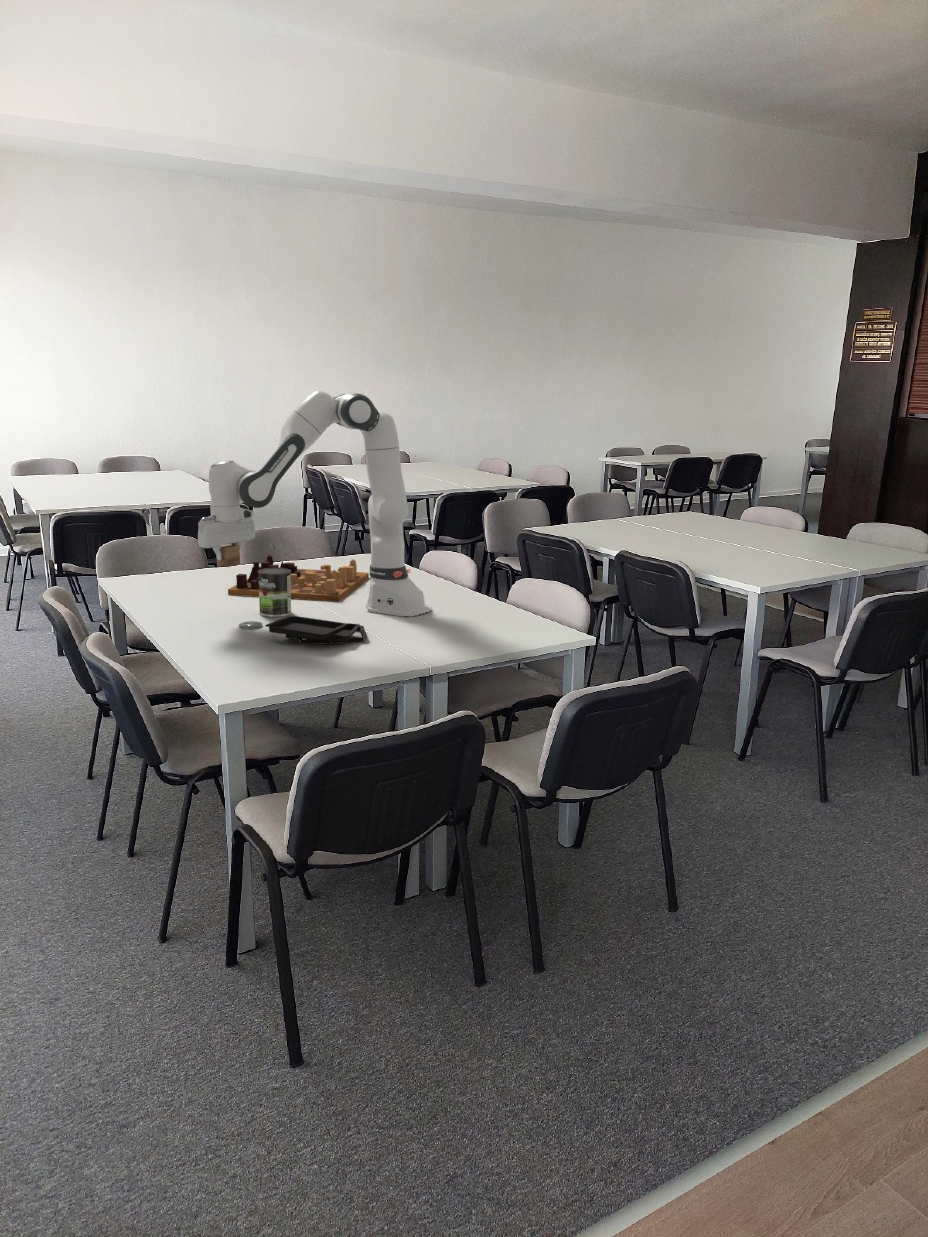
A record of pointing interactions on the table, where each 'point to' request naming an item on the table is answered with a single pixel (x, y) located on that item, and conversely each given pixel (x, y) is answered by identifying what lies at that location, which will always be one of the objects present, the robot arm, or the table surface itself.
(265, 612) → the coffee can
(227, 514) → the robot arm
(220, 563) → the walnut block
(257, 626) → the slate coaster
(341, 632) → the tray
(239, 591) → the gameboard
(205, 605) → the table surface
